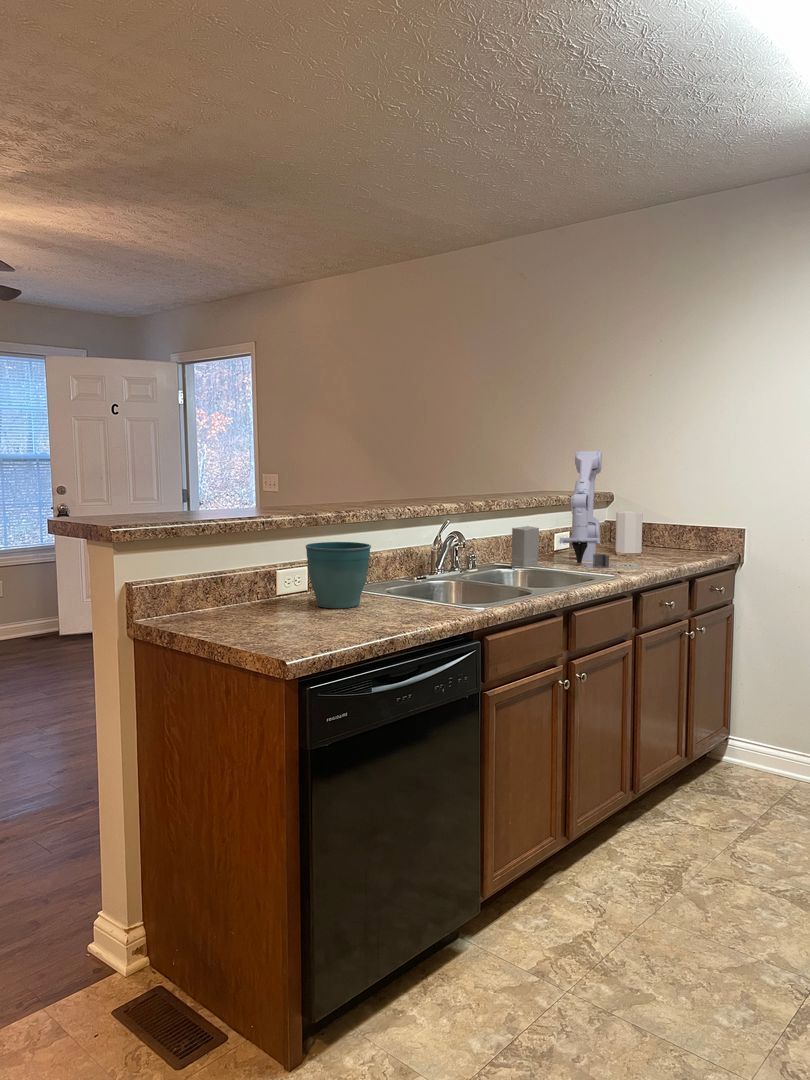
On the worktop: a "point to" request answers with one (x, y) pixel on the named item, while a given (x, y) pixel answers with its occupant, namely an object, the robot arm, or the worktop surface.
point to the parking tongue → (566, 563)
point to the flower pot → (338, 572)
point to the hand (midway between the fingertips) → (579, 562)
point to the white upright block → (629, 531)
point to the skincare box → (525, 546)
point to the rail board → (634, 566)
